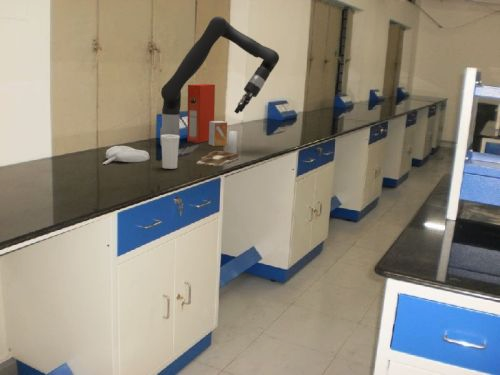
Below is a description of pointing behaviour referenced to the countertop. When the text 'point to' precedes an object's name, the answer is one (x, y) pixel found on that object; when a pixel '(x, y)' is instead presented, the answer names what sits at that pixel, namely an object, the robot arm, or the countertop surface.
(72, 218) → the countertop surface
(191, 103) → the file binder
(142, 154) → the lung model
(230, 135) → the post
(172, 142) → the cup
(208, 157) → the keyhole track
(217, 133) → the small box
